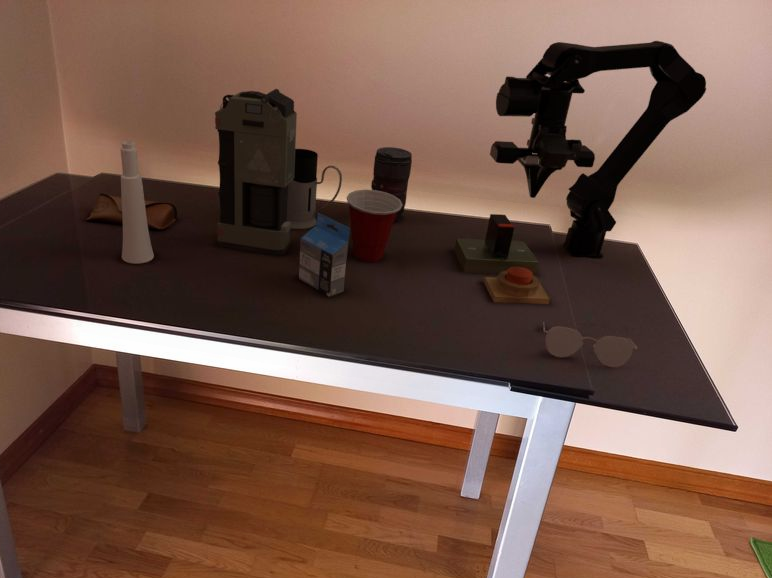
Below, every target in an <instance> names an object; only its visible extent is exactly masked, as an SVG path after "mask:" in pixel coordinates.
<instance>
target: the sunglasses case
mask: <svg viewBox="0 0 772 578" xmlns="http://www.w3.org/2000/svg"><path fill="white" fill-rule="evenodd" d="M144 201H145V209H146V217H147V224H148V230H160V231H161V230H165V229H167V228H169V227H170V226H172V225H173V224H174V223H175V222H176V221H177V217H178V210H177V207H176V206H175V205H174V204H173V203H172V202H167V201H152V200H146V199H144ZM85 221H91V222H92V221H94V222H102V223H108V224H113V225H121V226H123V219H122V198H121V196H118V195H112V194H111V195H110V194H107V193H100V194H99V197H98V199H97V200H96V203H95V204H94V206H93V207H92V210H91V212H90V214H89V217H87V218H86V219H85Z"/></svg>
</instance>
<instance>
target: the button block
mask: <svg viewBox="0 0 772 578" xmlns="http://www.w3.org/2000/svg"><path fill="white" fill-rule="evenodd" d="M507 272H508V270H507V271H503V272H500V274H497V276H496V277H495V276H494V277H493V276H491V277H490V276H484V281H483V284H484V286H485V287H486V289H487V292H488V294H489V295H490V297H491V299H492V301H493V302H494V303H507V304H508V303H509V304H534V305H535V304H536V305H549V304H550V301H551V297H550V296H549V294H548V293H547V292H546V291H545V289H544V287H543V285H542V284H541V281H540V279H539V278H538V277H537V276H536V275H532V279H531V283H530V284H528V285H518V284H514V283H511V282H509V281H507V280H506V277H507Z"/></svg>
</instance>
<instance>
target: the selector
mask: <svg viewBox="0 0 772 578" xmlns="http://www.w3.org/2000/svg"><path fill="white" fill-rule="evenodd" d="M514 232H515V227H514V225H513V224H512V222H511V221H510V219H509V218H508V216H507V215H506V214H501V213H500V214H499V213H490V214H489V219H488V224H487V228H486V233H485V239H484V240H485V243H486V245H487V247H488V249H489V250H490V252H491V254H492V256H498V257H508V255H509V250H510V246H511V241H513V237H514Z"/></svg>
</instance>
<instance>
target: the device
mask: <svg viewBox="0 0 772 578" xmlns="http://www.w3.org/2000/svg"><path fill="white" fill-rule="evenodd" d="M297 115H298V113H297V112H296V111H295V101H294V99H292V98H290V97H289V96H287V95H285V94H284V93H281V91H280V89H278V88H274V89H273V90H270V91H269V92H268V93H263V92H260V91H255V90H249V91H240V92H238V93H236V94H226V95H224V96H223V97H222V103H221V104H220V106H219V110H216V111H215V112H214V116H215V117H214V124H215V127H214V128H215V130H217V132H218V133H217V134H218V143H219V144H218V146H219V147H218V160H217V165H218V169H219V189H218V190H219V191H218V194H217V195H218V197H219V221H217V223H216V228H217V237H216V241H217V246H218V247H222V248H227V249H235V250H240V251H247V252H253V253H260V254H265V255H271V256H272V255H273V256H282V255H284V254H285V253H286V252H287V251H288V249H289V248H290V244H291V243H290V242H291V228H290V227H291V222H287V204H288V184H289V183H290V182H291V181H292V180H293V179H294V170H295V149H296V140H297Z"/></svg>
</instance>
